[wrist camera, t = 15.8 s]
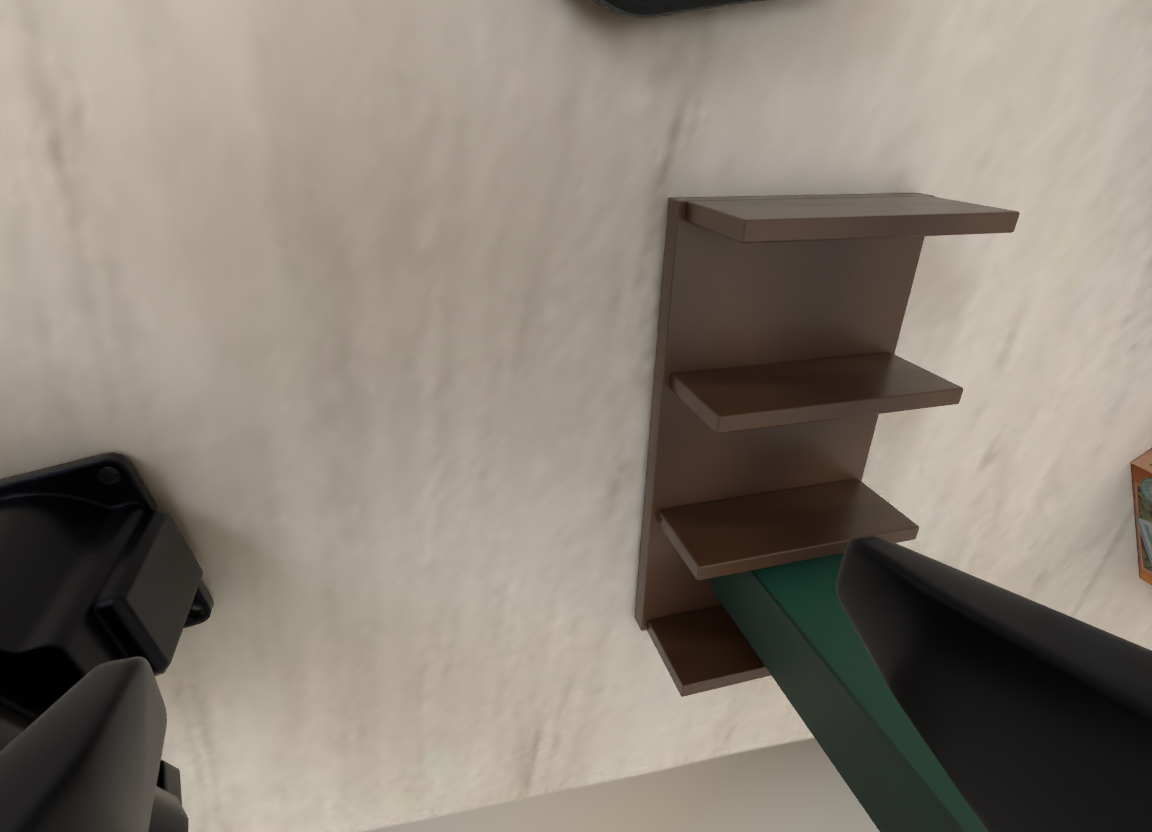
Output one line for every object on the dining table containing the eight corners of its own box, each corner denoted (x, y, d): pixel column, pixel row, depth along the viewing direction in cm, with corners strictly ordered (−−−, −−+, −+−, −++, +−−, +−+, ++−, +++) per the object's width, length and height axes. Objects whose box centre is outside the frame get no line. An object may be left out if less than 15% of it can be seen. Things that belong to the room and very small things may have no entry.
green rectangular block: (710, 587, 27) (938, 915, 16) (718, 532, 25) (971, 848, 15) (835, 563, 28) (1118, 847, 18) (849, 510, 27) (1163, 780, 16)
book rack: (634, 618, 27) (675, 698, 24) (668, 197, 20) (736, 220, 16) (822, 580, 30) (886, 648, 26) (918, 192, 22) (1028, 211, 18)
